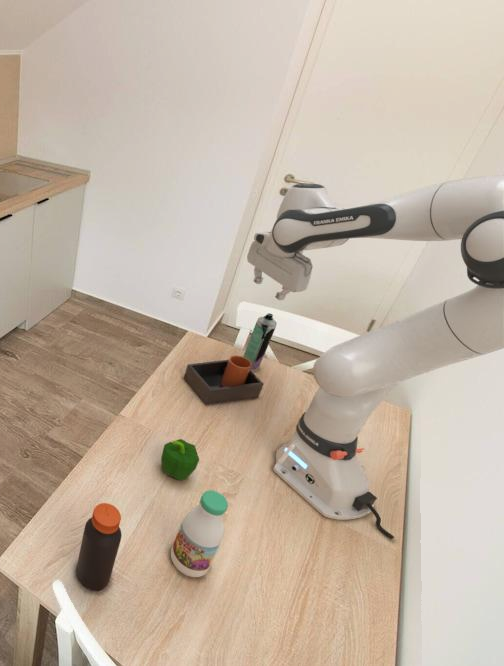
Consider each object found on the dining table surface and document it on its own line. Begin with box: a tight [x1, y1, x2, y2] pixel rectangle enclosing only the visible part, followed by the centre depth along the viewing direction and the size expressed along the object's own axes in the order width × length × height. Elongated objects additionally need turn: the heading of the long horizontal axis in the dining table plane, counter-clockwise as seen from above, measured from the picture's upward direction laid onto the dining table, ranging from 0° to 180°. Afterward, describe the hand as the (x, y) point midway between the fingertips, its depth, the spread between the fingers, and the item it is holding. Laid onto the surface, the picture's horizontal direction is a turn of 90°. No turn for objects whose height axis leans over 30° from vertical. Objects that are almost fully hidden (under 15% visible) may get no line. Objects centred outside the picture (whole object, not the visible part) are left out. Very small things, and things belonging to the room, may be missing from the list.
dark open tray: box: [183, 359, 265, 406], centre depth 144 cm, size 13×18×6 cm
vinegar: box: [75, 502, 123, 592], centre depth 90 cm, size 7×7×20 cm
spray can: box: [242, 312, 278, 372], centre depth 149 cm, size 6×6×20 cm
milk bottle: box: [170, 490, 229, 578], centre depth 93 cm, size 8×8×20 cm
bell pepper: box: [160, 438, 200, 481], centre depth 115 cm, size 8×8×10 cm
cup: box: [221, 355, 252, 387], centre depth 144 cm, size 6×6×9 cm
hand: (267, 290), depth 133 cm, fingers open, 8 cm apart
